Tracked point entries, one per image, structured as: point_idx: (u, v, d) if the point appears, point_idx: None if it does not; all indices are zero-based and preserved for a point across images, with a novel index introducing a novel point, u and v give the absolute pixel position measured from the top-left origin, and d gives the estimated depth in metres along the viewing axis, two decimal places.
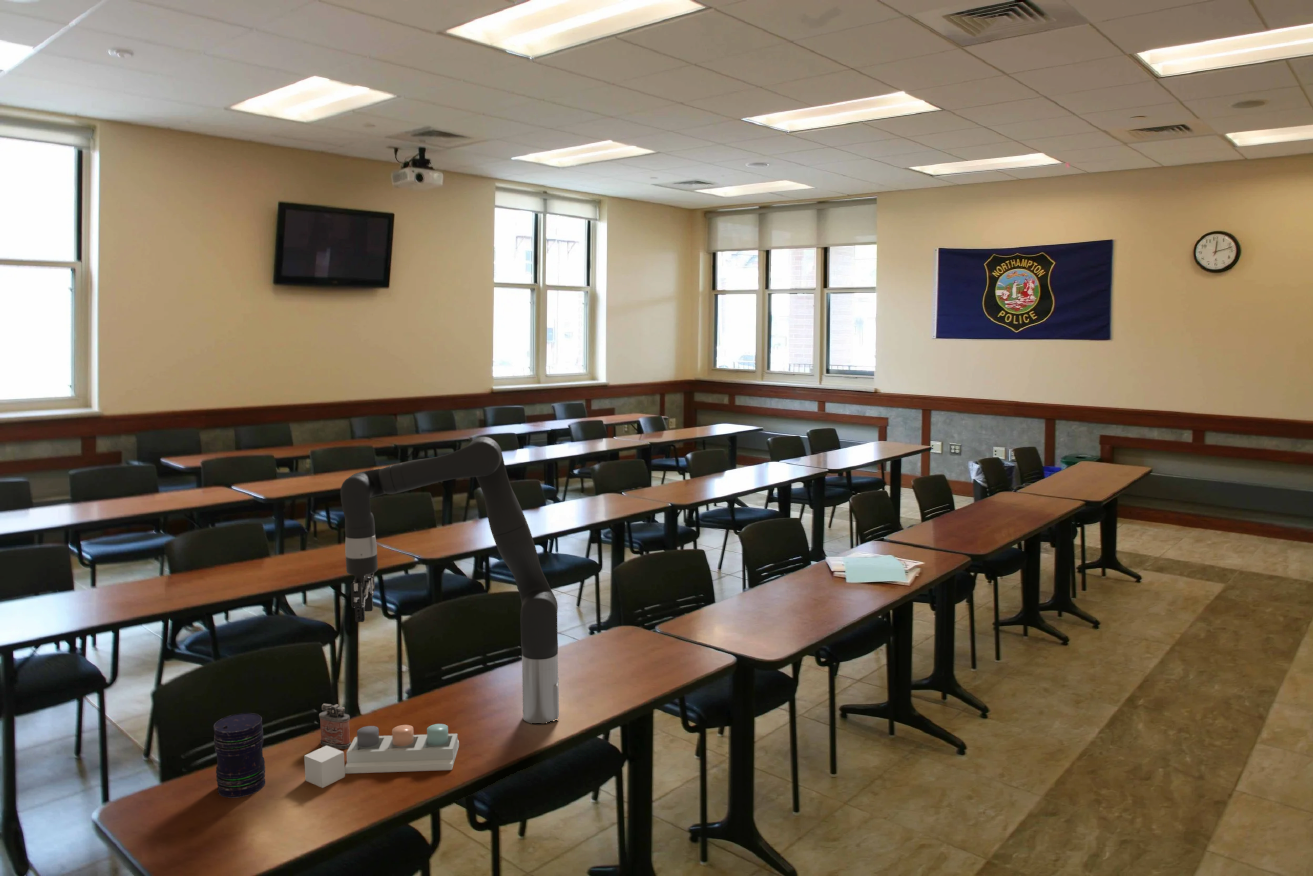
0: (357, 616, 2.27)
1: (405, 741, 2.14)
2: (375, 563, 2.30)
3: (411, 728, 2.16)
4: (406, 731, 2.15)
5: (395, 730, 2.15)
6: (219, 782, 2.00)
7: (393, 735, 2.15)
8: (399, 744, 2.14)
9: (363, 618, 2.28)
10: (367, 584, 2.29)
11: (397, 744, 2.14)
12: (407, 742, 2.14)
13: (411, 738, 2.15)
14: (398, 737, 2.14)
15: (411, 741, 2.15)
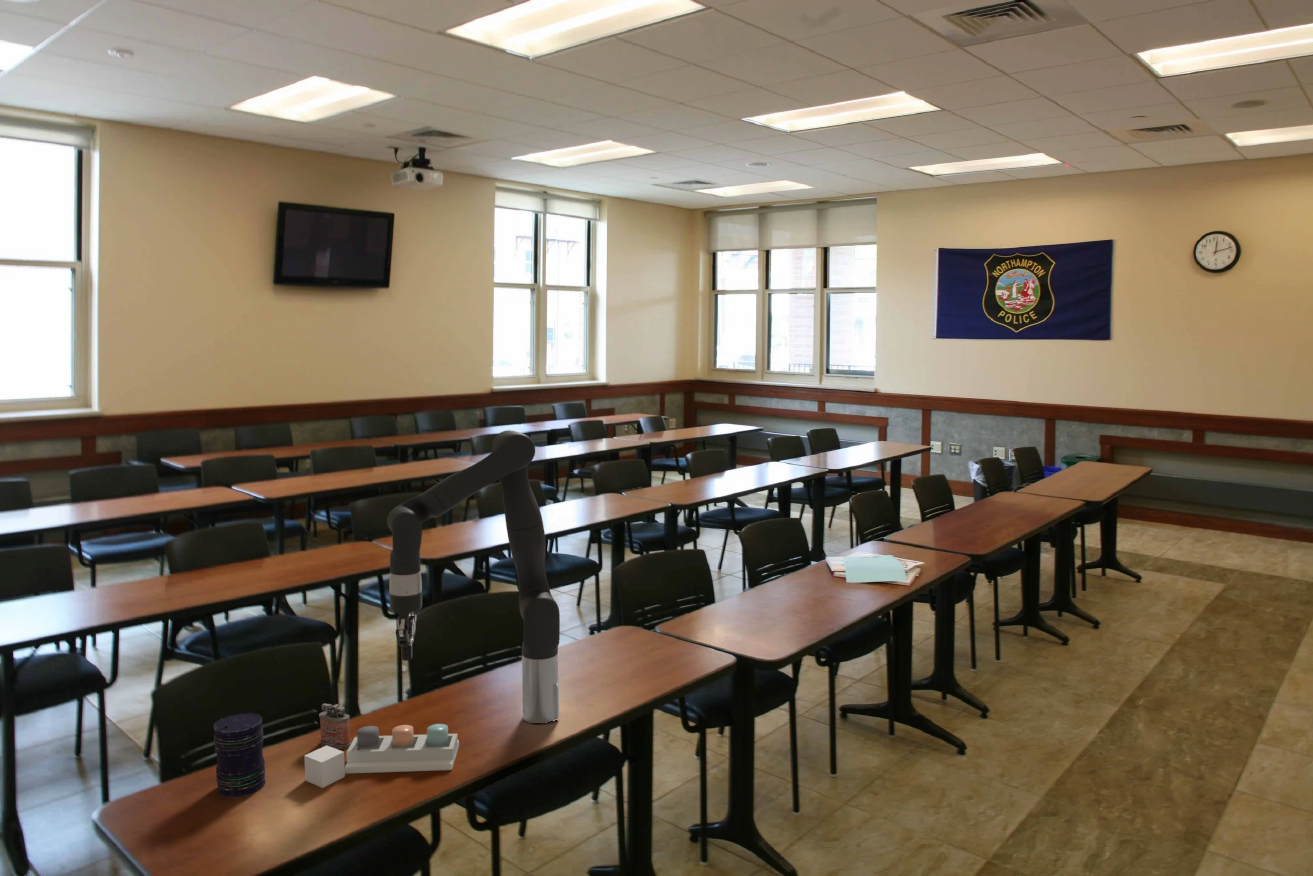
0: (404, 655, 2.22)
1: (405, 741, 2.14)
2: (420, 600, 2.21)
3: (411, 728, 2.16)
4: (406, 731, 2.15)
5: (395, 730, 2.15)
6: (219, 782, 2.00)
7: (393, 735, 2.15)
8: (399, 744, 2.14)
9: (410, 657, 2.23)
10: (411, 624, 2.21)
11: (397, 744, 2.14)
12: (407, 742, 2.14)
13: (411, 738, 2.15)
14: (398, 737, 2.14)
15: (411, 741, 2.15)
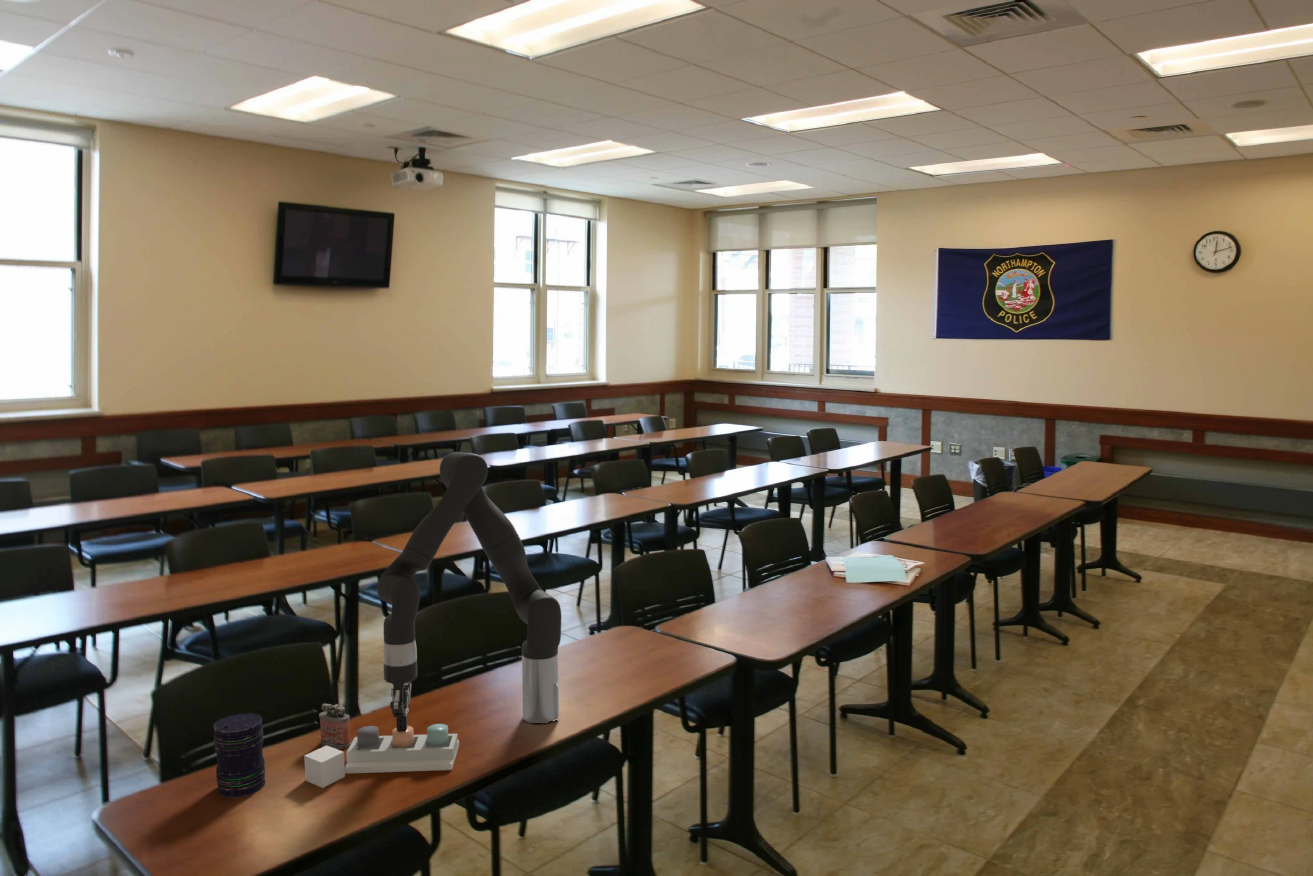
0: (399, 726, 2.14)
1: (405, 742, 2.14)
2: (415, 670, 2.13)
3: (411, 729, 2.16)
4: (406, 732, 2.15)
5: (395, 731, 2.15)
6: (219, 782, 2.00)
7: (393, 736, 2.15)
8: (399, 745, 2.14)
9: (405, 728, 2.15)
10: (406, 694, 2.13)
11: (397, 745, 2.14)
12: (407, 743, 2.14)
13: (411, 739, 2.15)
14: (398, 738, 2.14)
15: (411, 742, 2.15)
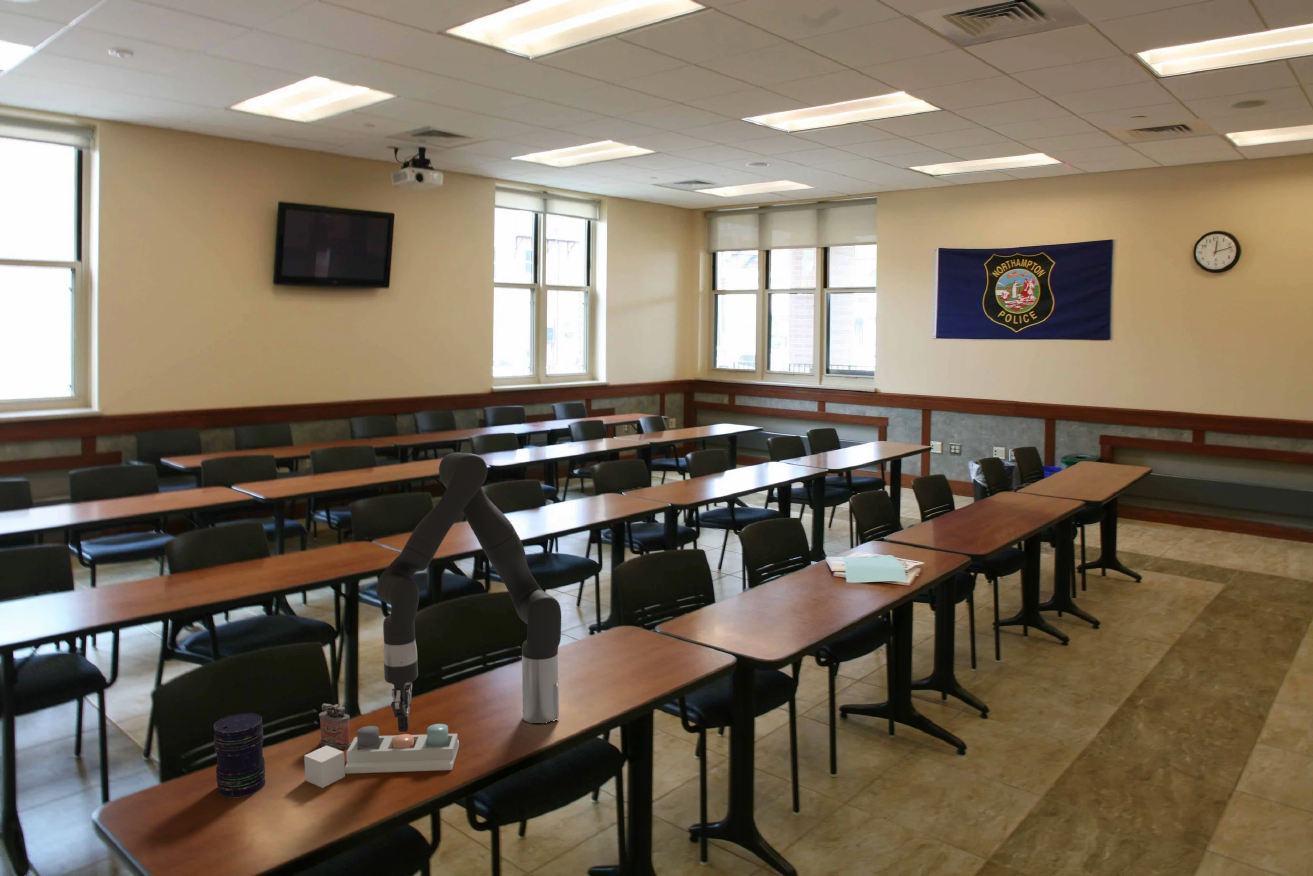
0: (400, 726, 2.14)
1: None
2: (415, 670, 2.13)
3: (411, 737, 2.17)
4: (406, 740, 2.15)
5: (395, 740, 2.15)
6: (219, 782, 2.00)
7: (393, 744, 2.15)
8: None
9: (406, 727, 2.15)
10: (407, 694, 2.13)
11: None
12: None
13: (411, 747, 2.16)
14: (398, 747, 2.14)
15: None
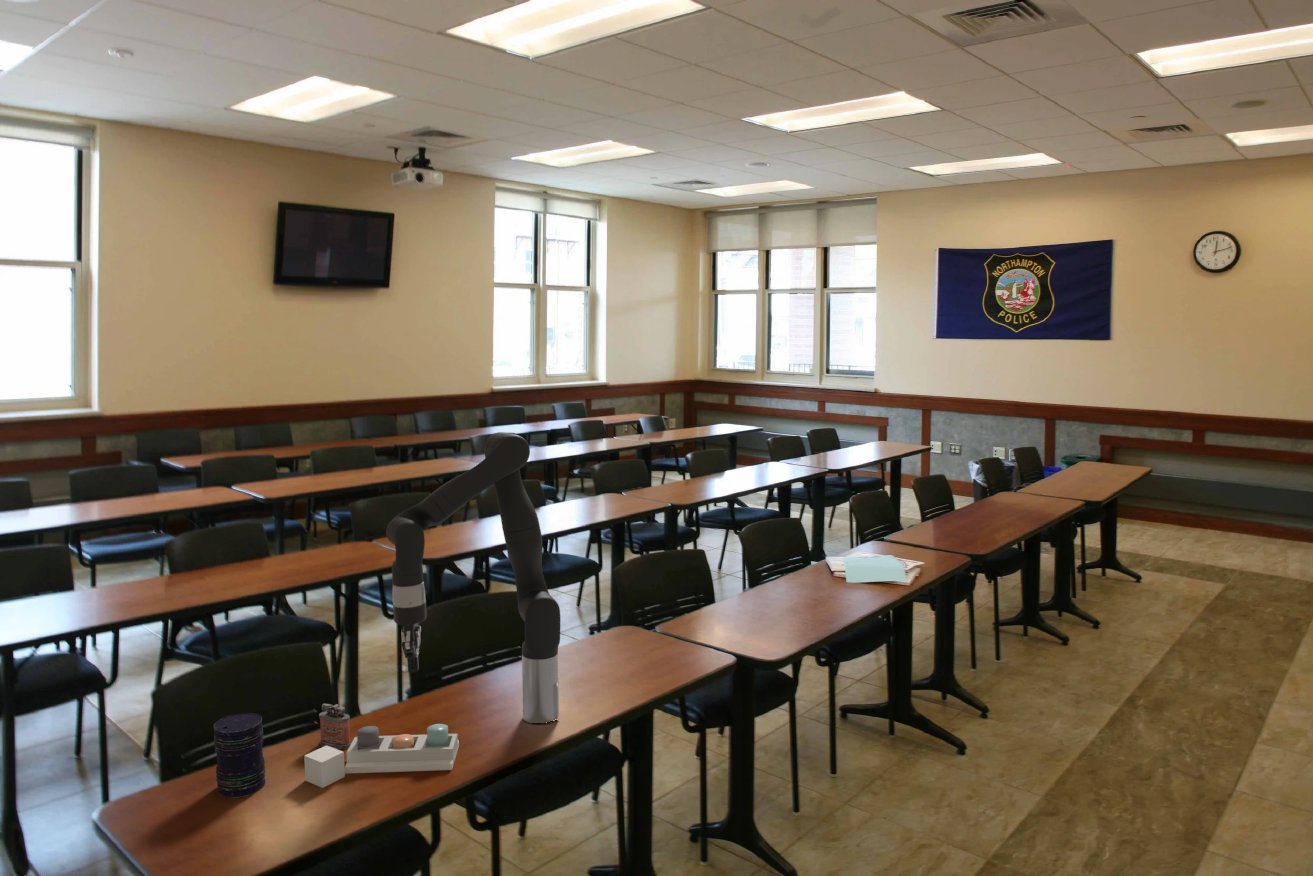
0: (410, 667, 2.19)
1: None
2: (424, 611, 2.18)
3: (411, 737, 2.17)
4: (406, 740, 2.15)
5: (395, 740, 2.15)
6: (219, 782, 2.00)
7: (393, 744, 2.15)
8: None
9: (416, 668, 2.20)
10: (417, 635, 2.18)
11: None
12: None
13: (411, 747, 2.16)
14: (398, 747, 2.14)
15: None
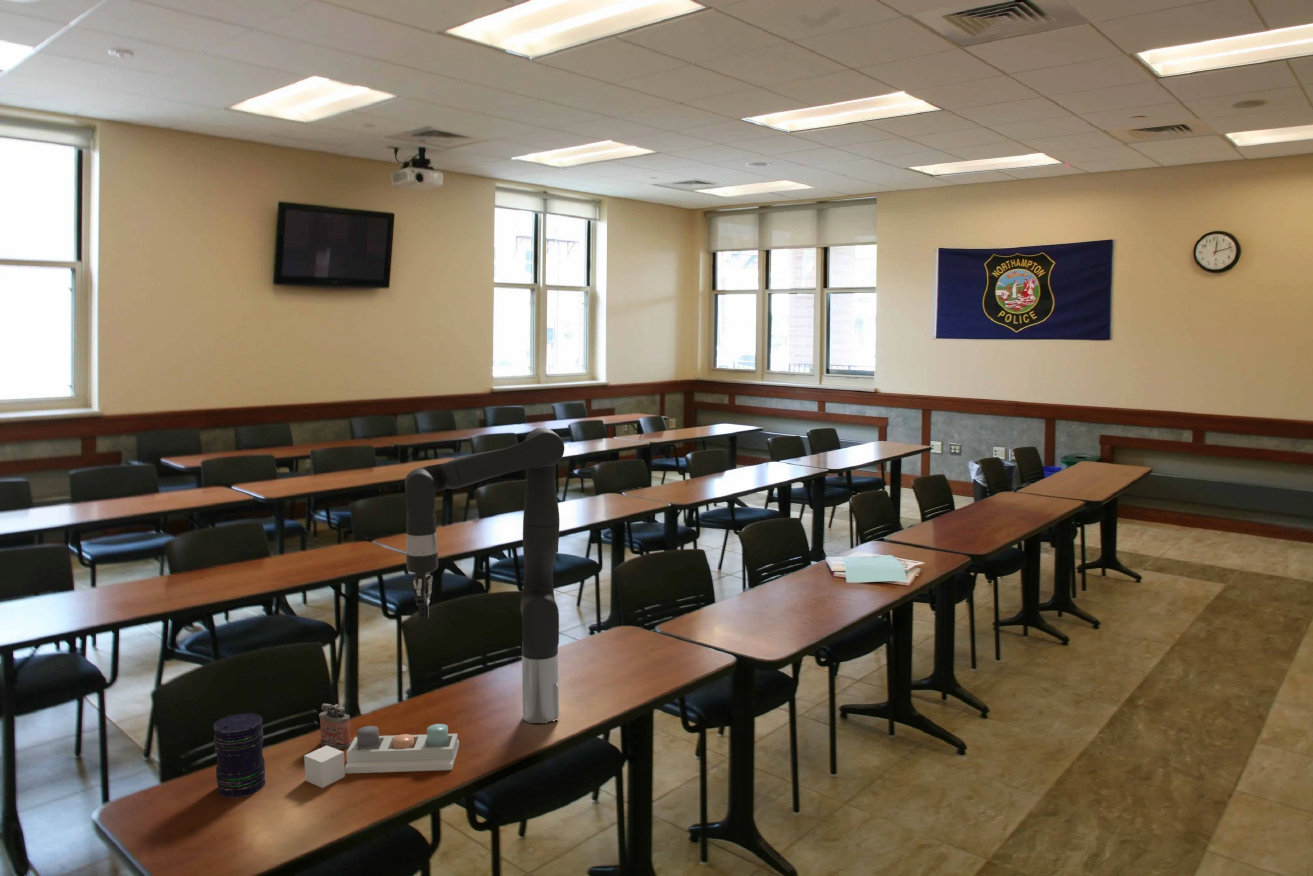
0: (421, 614, 2.27)
1: None
2: (436, 561, 2.26)
3: (411, 737, 2.17)
4: (406, 740, 2.15)
5: (395, 740, 2.15)
6: (219, 782, 2.00)
7: (393, 744, 2.15)
8: None
9: (427, 616, 2.28)
10: (428, 584, 2.25)
11: None
12: None
13: (411, 747, 2.16)
14: (398, 747, 2.14)
15: None
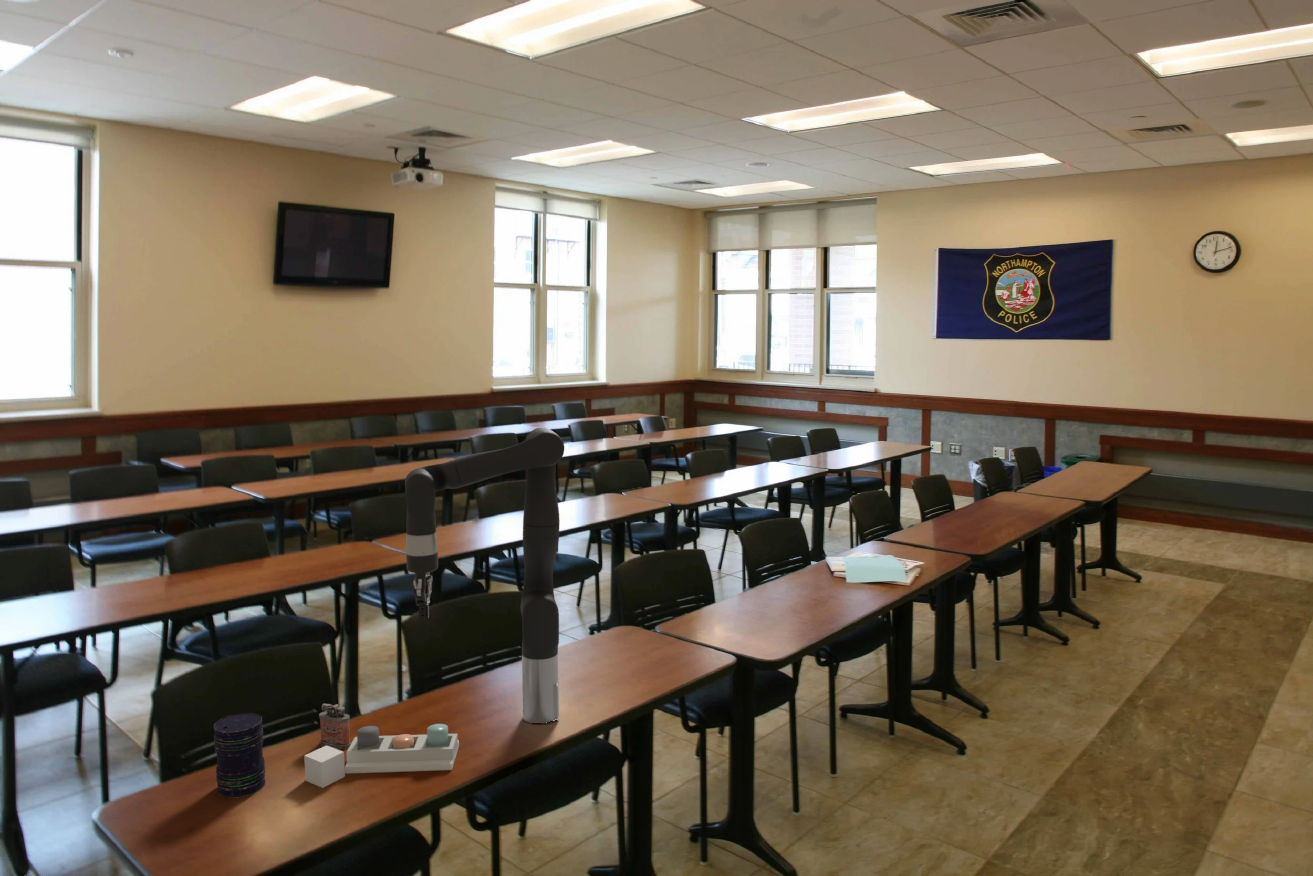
0: (421, 614, 2.27)
1: None
2: (436, 561, 2.26)
3: (411, 737, 2.17)
4: (406, 740, 2.15)
5: (395, 740, 2.15)
6: (219, 782, 2.00)
7: (393, 744, 2.15)
8: None
9: (427, 616, 2.28)
10: (428, 584, 2.25)
11: None
12: None
13: (411, 747, 2.16)
14: (398, 747, 2.14)
15: None
